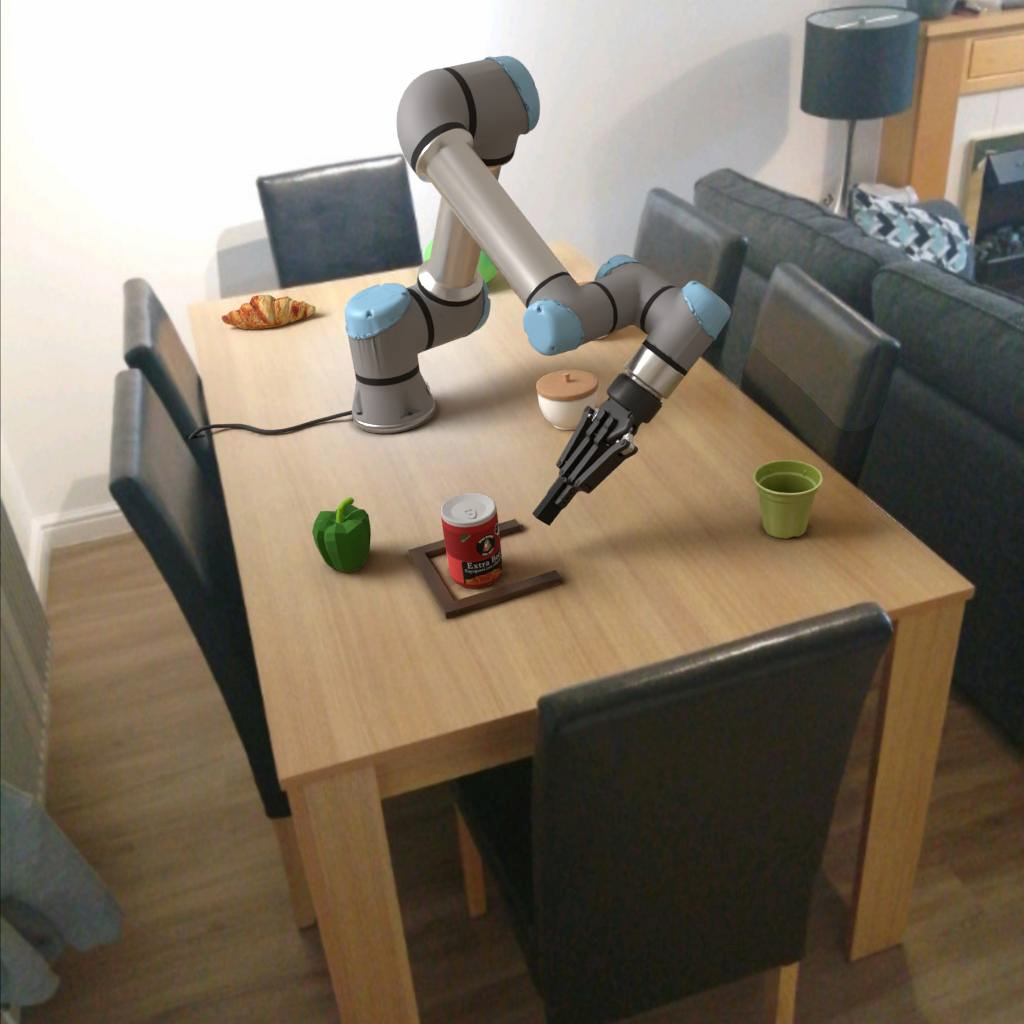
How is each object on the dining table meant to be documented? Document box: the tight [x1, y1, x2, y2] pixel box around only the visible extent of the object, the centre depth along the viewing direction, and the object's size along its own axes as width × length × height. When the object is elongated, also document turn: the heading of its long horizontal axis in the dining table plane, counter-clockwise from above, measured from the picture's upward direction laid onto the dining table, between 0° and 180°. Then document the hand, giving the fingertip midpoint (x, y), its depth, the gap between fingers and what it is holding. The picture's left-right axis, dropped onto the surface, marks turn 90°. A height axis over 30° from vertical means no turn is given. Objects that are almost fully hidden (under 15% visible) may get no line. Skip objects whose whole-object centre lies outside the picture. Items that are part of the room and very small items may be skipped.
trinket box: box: [535, 369, 599, 431], centre depth 181 cm, size 11×11×9 cm
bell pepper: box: [311, 496, 372, 573], centre depth 149 cm, size 8×8×10 cm
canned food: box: [440, 492, 504, 589], centre depth 144 cm, size 8×8×11 cm
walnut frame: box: [407, 518, 563, 619], centre depth 147 cm, size 17×17×1 cm
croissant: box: [221, 294, 317, 330], centre depth 237 cm, size 21×10×8 cm, turn 101°
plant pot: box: [752, 459, 824, 540], centre depth 147 cm, size 9×9×9 cm
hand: (540, 519), depth 147 cm, fingers closed
